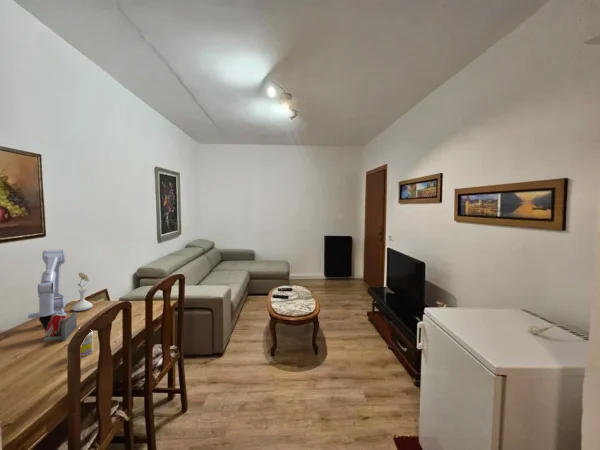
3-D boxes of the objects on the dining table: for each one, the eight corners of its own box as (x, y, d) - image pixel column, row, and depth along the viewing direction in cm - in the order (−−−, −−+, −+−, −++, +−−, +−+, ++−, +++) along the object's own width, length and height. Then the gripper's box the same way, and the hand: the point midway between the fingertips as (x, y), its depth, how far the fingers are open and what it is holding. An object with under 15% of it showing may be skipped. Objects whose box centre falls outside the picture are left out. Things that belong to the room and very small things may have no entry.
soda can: (49, 339, 148) (58, 317, 149) (40, 333, 150) (49, 311, 151) (63, 336, 155) (72, 315, 155) (55, 330, 157) (63, 309, 157)
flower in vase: (94, 309, 193) (94, 273, 192) (73, 313, 185) (73, 275, 183) (89, 304, 202) (89, 270, 200) (69, 308, 193) (69, 272, 192)
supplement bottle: (80, 350, 139) (80, 324, 138) (95, 349, 140) (95, 323, 140) (73, 357, 132) (72, 330, 132) (89, 356, 134) (89, 329, 133)
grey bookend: (55, 329, 161) (55, 314, 160) (76, 327, 164) (76, 312, 164) (41, 343, 144) (41, 326, 144) (65, 340, 148) (64, 324, 147)
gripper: (25, 308, 144) (25, 334, 145) (60, 305, 150) (60, 331, 150) (31, 304, 151) (31, 329, 151) (65, 301, 157) (65, 326, 157)
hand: (46, 329), depth 151 cm, fingers closed, pressing on soda can
